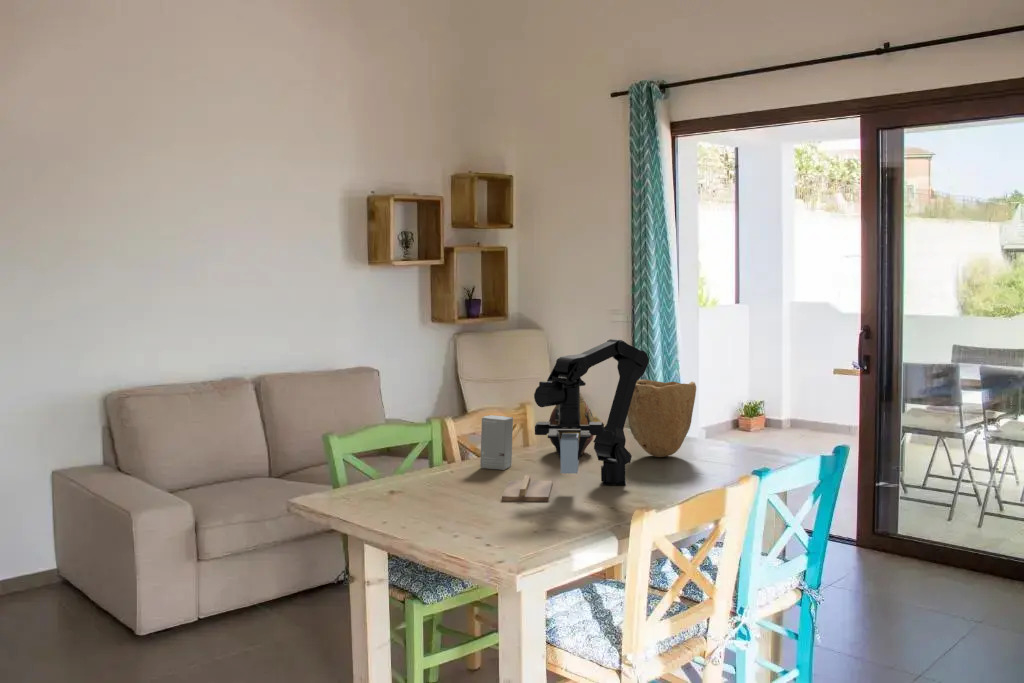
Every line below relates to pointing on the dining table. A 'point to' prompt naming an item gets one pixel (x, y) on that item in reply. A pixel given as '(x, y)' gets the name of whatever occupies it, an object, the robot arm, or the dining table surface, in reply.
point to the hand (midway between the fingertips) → (569, 459)
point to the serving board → (527, 490)
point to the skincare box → (496, 442)
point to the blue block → (569, 453)
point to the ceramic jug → (584, 420)
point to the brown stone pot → (661, 415)
